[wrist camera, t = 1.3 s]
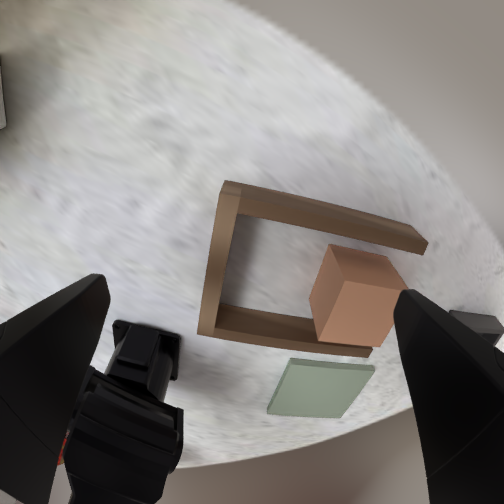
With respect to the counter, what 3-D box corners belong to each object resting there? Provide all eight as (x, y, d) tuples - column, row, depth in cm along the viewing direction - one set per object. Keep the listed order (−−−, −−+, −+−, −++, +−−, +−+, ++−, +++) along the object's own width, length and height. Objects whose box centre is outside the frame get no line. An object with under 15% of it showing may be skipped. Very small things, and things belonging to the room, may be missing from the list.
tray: (459, 367, 30) (467, 382, 27) (412, 367, 29) (419, 384, 27) (495, 316, 26) (505, 329, 24) (450, 310, 25) (461, 325, 23)
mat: (339, 412, 32) (340, 418, 32) (267, 408, 32) (267, 414, 31) (372, 365, 28) (374, 371, 28) (290, 358, 28) (290, 364, 27)
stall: (359, 334, 26) (367, 357, 24) (202, 309, 25) (196, 334, 22) (410, 225, 21) (428, 242, 19) (224, 180, 20) (219, 193, 17)
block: (362, 306, 25) (379, 347, 20) (308, 297, 25) (318, 340, 20) (386, 256, 23) (410, 292, 18) (328, 243, 22) (344, 280, 18)
